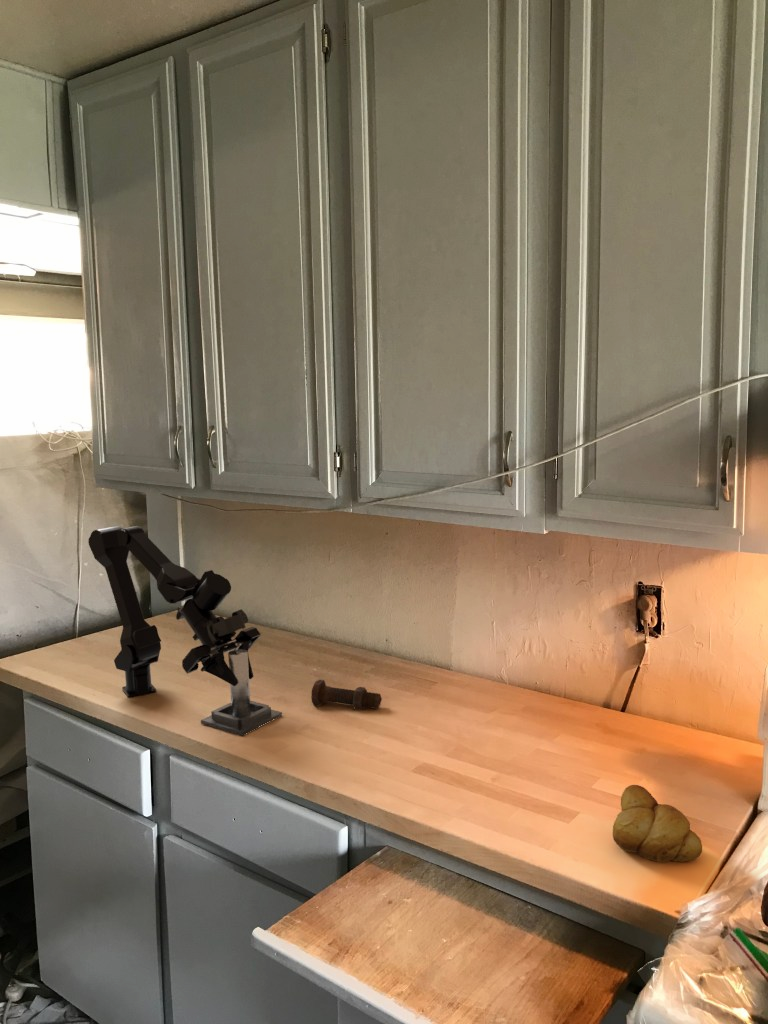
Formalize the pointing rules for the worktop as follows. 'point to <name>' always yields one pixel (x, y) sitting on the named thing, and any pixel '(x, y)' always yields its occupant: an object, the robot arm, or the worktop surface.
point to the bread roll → (654, 828)
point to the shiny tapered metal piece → (240, 683)
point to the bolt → (344, 696)
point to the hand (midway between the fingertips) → (244, 681)
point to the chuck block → (241, 726)
